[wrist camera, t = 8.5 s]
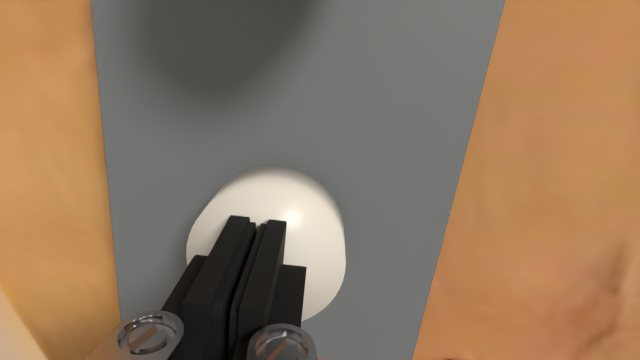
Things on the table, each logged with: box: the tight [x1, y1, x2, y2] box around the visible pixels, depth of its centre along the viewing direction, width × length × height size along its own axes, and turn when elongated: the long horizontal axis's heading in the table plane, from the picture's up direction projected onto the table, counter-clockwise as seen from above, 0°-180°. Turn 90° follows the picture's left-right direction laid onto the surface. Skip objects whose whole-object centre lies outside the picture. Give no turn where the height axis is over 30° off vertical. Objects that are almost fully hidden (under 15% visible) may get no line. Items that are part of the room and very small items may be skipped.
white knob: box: [186, 166, 346, 321], centre depth 14 cm, size 5×5×5 cm
